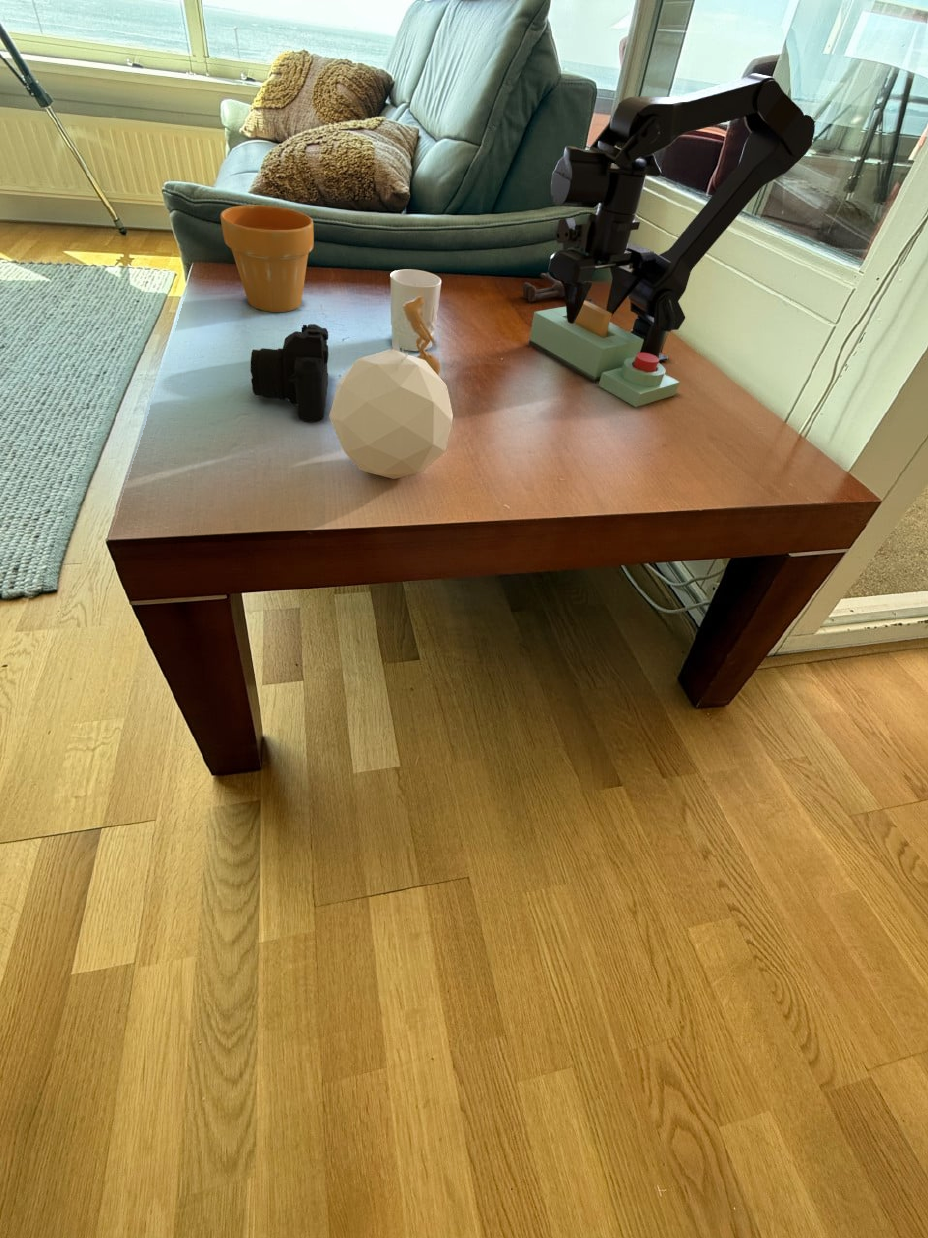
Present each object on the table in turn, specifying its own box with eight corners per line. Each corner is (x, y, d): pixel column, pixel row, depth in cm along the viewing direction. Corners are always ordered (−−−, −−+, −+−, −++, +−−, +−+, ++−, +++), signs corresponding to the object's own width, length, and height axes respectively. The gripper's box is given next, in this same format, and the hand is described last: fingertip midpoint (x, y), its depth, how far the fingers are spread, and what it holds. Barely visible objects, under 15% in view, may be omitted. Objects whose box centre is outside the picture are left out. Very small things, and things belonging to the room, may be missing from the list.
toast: (570, 343, 110) (581, 297, 104) (599, 359, 106) (612, 313, 101) (563, 345, 109) (573, 299, 103) (592, 361, 105) (604, 314, 100)
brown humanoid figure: (503, 268, 129) (561, 258, 134) (501, 290, 132) (558, 279, 137) (554, 300, 118) (614, 288, 123) (551, 323, 121) (610, 310, 127)
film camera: (264, 369, 91) (257, 304, 85) (332, 375, 93) (331, 311, 86) (249, 421, 81) (239, 351, 74) (326, 426, 82) (323, 357, 76)
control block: (638, 374, 106) (645, 350, 103) (675, 395, 102) (684, 370, 99) (598, 385, 101) (605, 360, 98) (635, 407, 97) (643, 382, 94)
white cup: (429, 356, 101) (434, 290, 94) (382, 347, 102) (384, 280, 95) (440, 339, 107) (446, 275, 100) (395, 330, 107) (398, 265, 100)
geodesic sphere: (322, 378, 78) (324, 309, 64) (434, 380, 82) (459, 314, 68) (332, 495, 77) (336, 450, 63) (446, 492, 80) (474, 448, 66)
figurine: (449, 391, 93) (458, 306, 85) (412, 395, 91) (418, 308, 82) (425, 367, 98) (431, 284, 90) (389, 370, 96) (392, 286, 87)
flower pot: (308, 323, 105) (304, 235, 96) (221, 312, 104) (208, 222, 95) (323, 294, 115) (320, 212, 106) (243, 284, 114) (234, 199, 105)
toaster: (568, 336, 115) (575, 304, 111) (633, 372, 107) (644, 339, 103) (528, 344, 110) (534, 311, 106) (593, 382, 102) (603, 348, 98)
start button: (642, 361, 101) (646, 350, 100) (660, 371, 99) (663, 360, 98) (628, 365, 99) (631, 354, 98) (645, 375, 97) (649, 363, 96)
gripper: (618, 192, 101) (593, 295, 112) (534, 196, 92) (515, 308, 103) (672, 212, 96) (640, 318, 107) (589, 218, 86) (562, 334, 97)
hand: (589, 319), depth 104 cm, fingers open, 9 cm apart
